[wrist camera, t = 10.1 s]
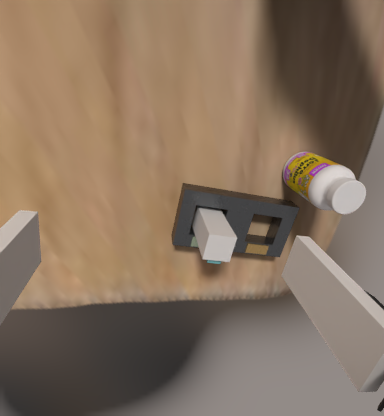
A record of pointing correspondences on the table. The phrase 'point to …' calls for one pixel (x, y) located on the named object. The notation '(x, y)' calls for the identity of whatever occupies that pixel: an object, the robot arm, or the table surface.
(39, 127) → the table surface
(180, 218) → the panel
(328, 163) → the supplement bottle
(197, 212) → the plug
